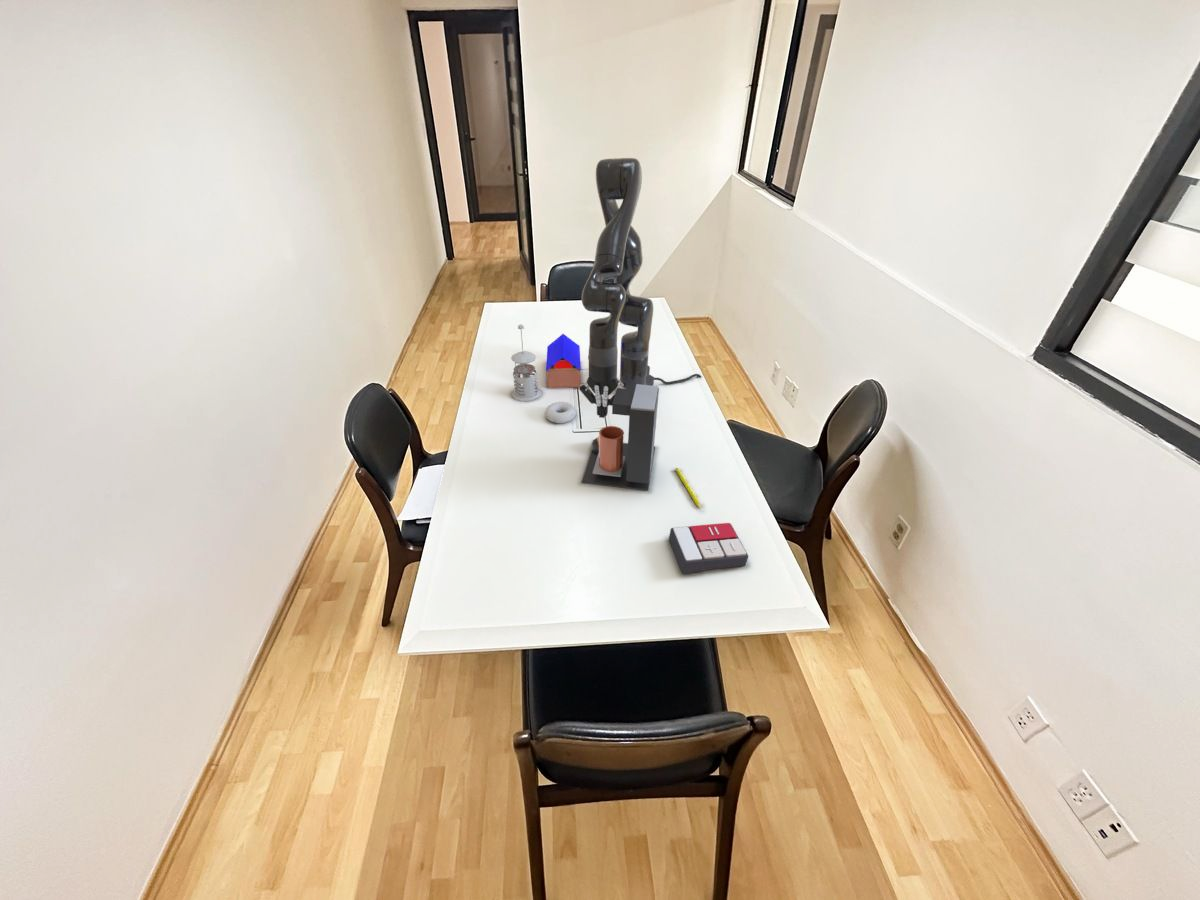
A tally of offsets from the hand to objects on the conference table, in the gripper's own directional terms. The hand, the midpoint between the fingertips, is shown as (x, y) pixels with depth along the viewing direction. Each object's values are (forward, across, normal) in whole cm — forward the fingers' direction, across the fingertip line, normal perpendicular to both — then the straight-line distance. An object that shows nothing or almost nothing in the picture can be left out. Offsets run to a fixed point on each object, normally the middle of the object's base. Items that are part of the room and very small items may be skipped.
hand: (602, 416), depth 146 cm
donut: (+12, +16, -16) cm, 25 cm away
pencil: (+12, -26, +13) cm, 31 cm away
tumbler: (+9, -4, +10) cm, 14 cm away
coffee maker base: (+12, -6, +6) cm, 15 cm away
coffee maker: (+9, -8, +10) cm, 16 cm away
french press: (+12, +32, -28) cm, 44 cm away
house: (+12, +22, -44) cm, 51 cm away
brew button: (+10, 0, 0) cm, 10 cm away
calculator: (+12, -31, +35) cm, 48 cm away
